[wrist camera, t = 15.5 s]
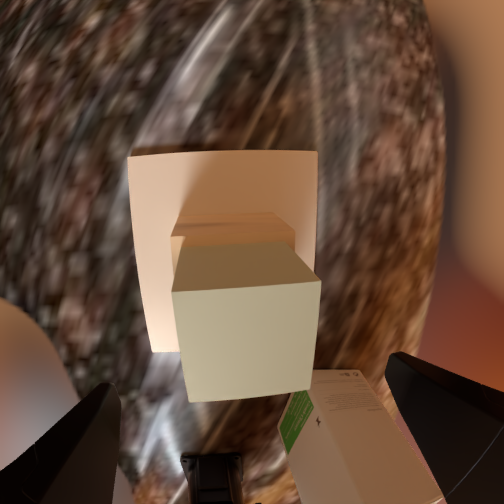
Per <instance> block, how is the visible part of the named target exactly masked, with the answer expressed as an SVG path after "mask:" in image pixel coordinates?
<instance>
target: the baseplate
mask: <svg viewBox="0 0 504 504" xmlns="http://www.w3.org/2000/svg"><path fill="white" fill-rule="evenodd" d="M128 176H129V192H130V205H131V217H132V227H133V236H134V245H135V253H136V261H137V268H138V275H139V282H140V289H141V295H142V301H143V307H144V312H145V318H146V323H147V328H148V333H149V338H150V343H151V348H152V352H176V351H180V350H179V344H178V337H177V331H176V324H175V317H174V310H173V303H172V295H171V290H172V285H173V280H174V274H173V264H172V253H171V242H170V236H171V233H172V231H173V228H174V226H175V223H176V221H177V218H178V216H194V215H215V214H239V213H268V212H273V213H275V214H276V215H277V216H278V217H279V218H281V219H282V220H283V221H284V222H285V223H287V224H288V225H289V226H290V227H291V228H293V229H294V230H295V253H296V254H297V255H298V256H299V257H300V258H301V259H302V260H303V261H304V263H305V264H306V265H307V266H308V267H309V268H310V269H311V270H312V271H313V272H314V259H315V240H316V216H317V178H318V151H296V150H227V151H200V152H182V153H168V154H155V155H144V156H134V157H128Z"/></svg>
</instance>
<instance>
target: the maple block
mask: <svg viewBox="0 0 504 504" xmlns="http://www.w3.org/2000/svg"><path fill="white" fill-rule="evenodd" d="M282 241H285V242H286V243H287V244H288V245H289V246H290V247H291V249H292V250H293V251H294V252H295V230H294V229H293V228H291V227H290V226H289V225H288V224H287V223H285V222H284V221H283V220H282V219H281V218H279V217H278V216H277V215H276V214H275V213H273V212H268V213H239V214H215V215H194V216H178V218H177V221H176V223H175V226H174V228H173V231H172V233H171V236H170V242H171V253H172V264H173V274H174V276H175V271H176V266H177V262H178V257H179V253H180V249H181V247H193V246H210V245H227V244H245V243H263V242H282Z"/></svg>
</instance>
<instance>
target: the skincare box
mask: <svg viewBox="0 0 504 504" xmlns="http://www.w3.org/2000/svg"><path fill="white" fill-rule="evenodd" d="M277 428H278V431H279V434H280V438H281V441H282V444H283V447H284V450H285V453H286V456H287V460H288V463H289V466H290V469H291V472H292V475H293V478H294V481H295V484H296V487H297V490H298V493H299V496H300V499H301V502H302V504H436V503H438V502H439V501H440V500H441V499H442V498H443V497H444V496H443V494H442V492H441V490H440V489H439V488H438V486H437V485H436V484H435V482H434V481H433V479H432V478H431V476H430V475H429V473H428V472H427V470H426V469H425V467H424V465H423V464H422V463H421V461H420V459H419V458H418V456H417V455H416V453H415V452H414V450H413V449H412V447H411V446H410V444H409V443H408V441H407V440H406V438H405V437H404V435H403V434H402V432H401V431H400V429H399V428H398V426H397V425H396V423H395V422H394V420H393V419H392V417H391V416H390V414H389V413H388V411H387V410H386V408H385V407H384V405H383V404H382V402H381V401H380V399H379V398H378V397H377V395H376V394H375V392H374V391H373V389H372V388H371V386H370V385H369V383H368V382H367V380H366V379H365V377H364V376H363V374H362V373H361V372H360V370H312V377H311V385H310V389H309V390H303V391H297V392H291V395H290V397H289V400H288V402H287V404H286V407H285V409H284V411H283V414H282V416H281V418H280V420H279V422H278V425H277Z"/></svg>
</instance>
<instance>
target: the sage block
mask: <svg viewBox="0 0 504 504" xmlns="http://www.w3.org/2000/svg"><path fill="white" fill-rule="evenodd" d="M320 293H321V280H320V279H319V278H318V277H317V276H316V274H315V273H314V272H313V271H312V270H311V269H310V268H309V267H308V266H307V265H306V264H305V263H304V261H303V260H302V259H301V258H300V257H299V256H298V255H297V254H296V253H295V252H294V251H293V250H292V249H291V247H290V246H289V245H288V244H287V243H286V242H285V241H282V242H263V243H245V244H227V245H210V246H193V247H181V249H180V253H179V257H178V262H177V266H176V271H175V276H174V280H173V285H172V290H171V295H172V303H173V310H174V317H175V324H176V331H177V337H178V344H179V350H180V356H181V362H182V367H183V373H184V378H185V384H186V389H187V394H188V399H189V402H208V401H222V400H234V399H244V398H253V397H262V396H270V395H277V394H284V393H290V392H297V391H303V390H309V389H310V385H311V377H312V370H313V362H314V353H315V345H316V336H317V326H318V316H319V305H320Z"/></svg>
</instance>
